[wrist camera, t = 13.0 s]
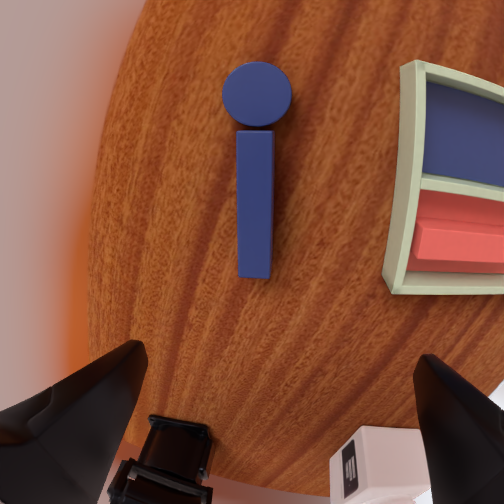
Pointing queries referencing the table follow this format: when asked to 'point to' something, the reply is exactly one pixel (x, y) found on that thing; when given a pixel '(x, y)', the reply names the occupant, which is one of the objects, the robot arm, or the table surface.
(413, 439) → the container
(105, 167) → the table surface
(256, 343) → the table surface
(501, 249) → the spoon coral
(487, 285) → the cutlery tray
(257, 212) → the spoon navy
